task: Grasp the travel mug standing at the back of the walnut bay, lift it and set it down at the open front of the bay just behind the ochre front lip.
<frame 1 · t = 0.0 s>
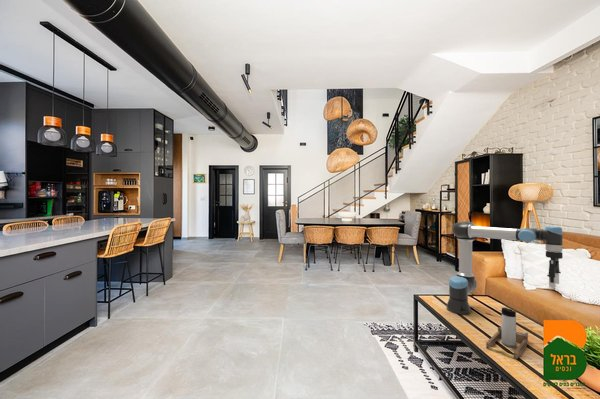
hand: (554, 285, 161), 28 cm above the table, fingers open, 13 cm apart
travel mug: (508, 345, 144), resting in bay
bay: (507, 346, 142), on the table
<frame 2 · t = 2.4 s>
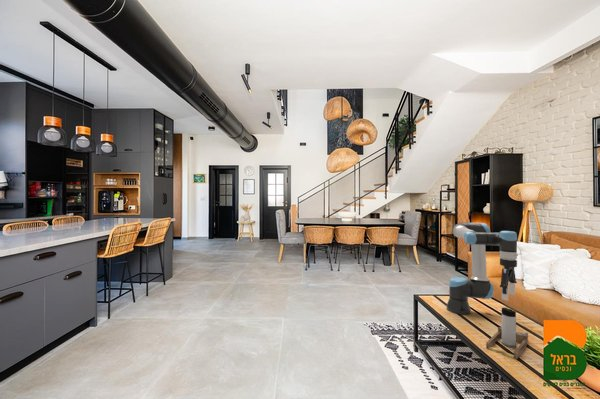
hand: (508, 297, 145), 26 cm above the table, fingers open, 13 cm apart
nothing on the table moved.
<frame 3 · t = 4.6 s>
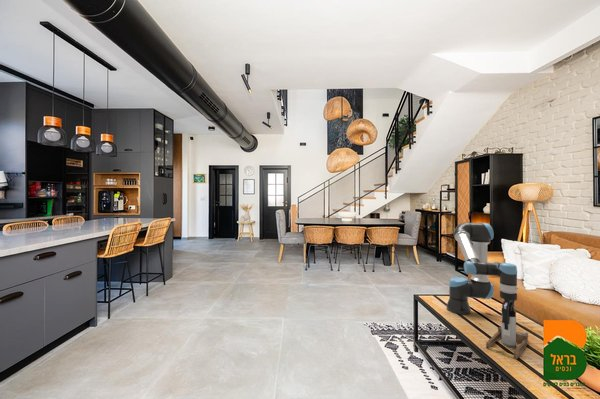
hand: (508, 333, 144), 6 cm above the table, fingers closed on travel mug, 6 cm apart
travel mug: (508, 345, 144), resting in bay, touching gripper
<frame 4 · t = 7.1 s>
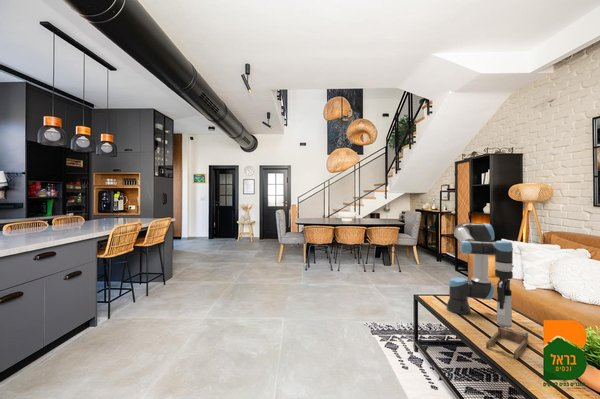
hand: (503, 312, 139), 20 cm above the table, fingers closed on travel mug, 6 cm apart
travel mug: (503, 325, 139), point 13 cm above the table, touching gripper
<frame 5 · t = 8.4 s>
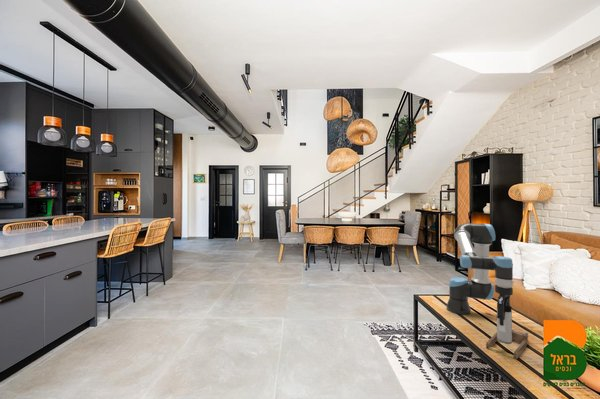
hand: (504, 329, 139), 11 cm above the table, fingers closed on travel mug, 6 cm apart
travel mug: (504, 341, 139), point 5 cm above the table, touching gripper
when the fingers open (8 cm above the table, at t = 9.5 s): travel mug drops 1 cm, resting in bay.
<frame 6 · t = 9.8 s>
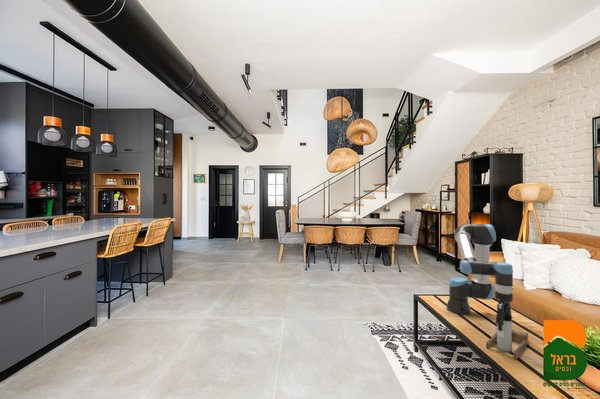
hand: (504, 333, 139), 9 cm above the table, fingers open, 11 cm apart
travel mug: (504, 350, 139), resting in bay
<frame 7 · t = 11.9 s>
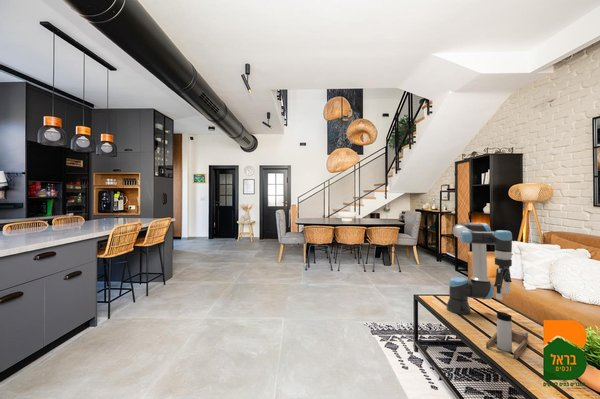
hand: (502, 296, 145), 27 cm above the table, fingers open, 13 cm apart
nothing on the table moved.
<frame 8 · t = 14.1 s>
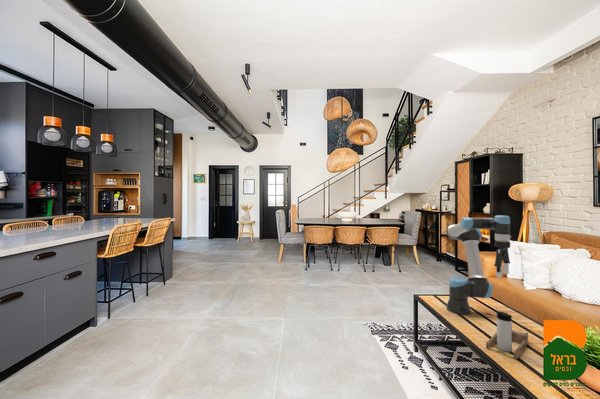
hand: (502, 275, 158), 35 cm above the table, fingers open, 13 cm apart
nothing on the table moved.
at the end: travel mug inside the target area on the bay (0.2 cm from its centre), point 0.0 cm above the bay's base; travel mug tilted 0°; the gripper is holding nothing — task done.
